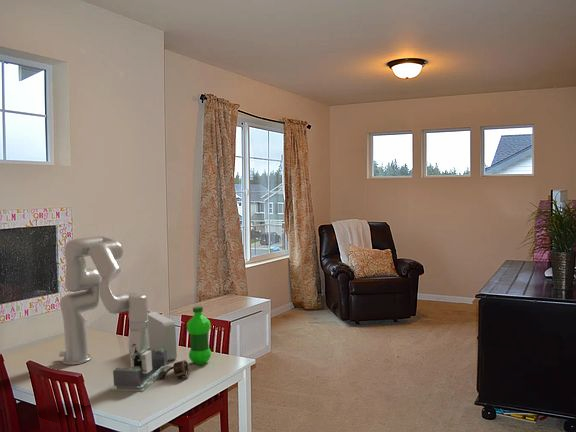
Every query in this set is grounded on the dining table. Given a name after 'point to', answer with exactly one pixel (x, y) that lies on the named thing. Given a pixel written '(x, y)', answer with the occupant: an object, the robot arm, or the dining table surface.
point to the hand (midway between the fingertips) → (141, 367)
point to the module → (144, 361)
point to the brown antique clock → (177, 370)
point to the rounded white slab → (162, 334)
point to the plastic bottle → (199, 337)
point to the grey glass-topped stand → (140, 373)
